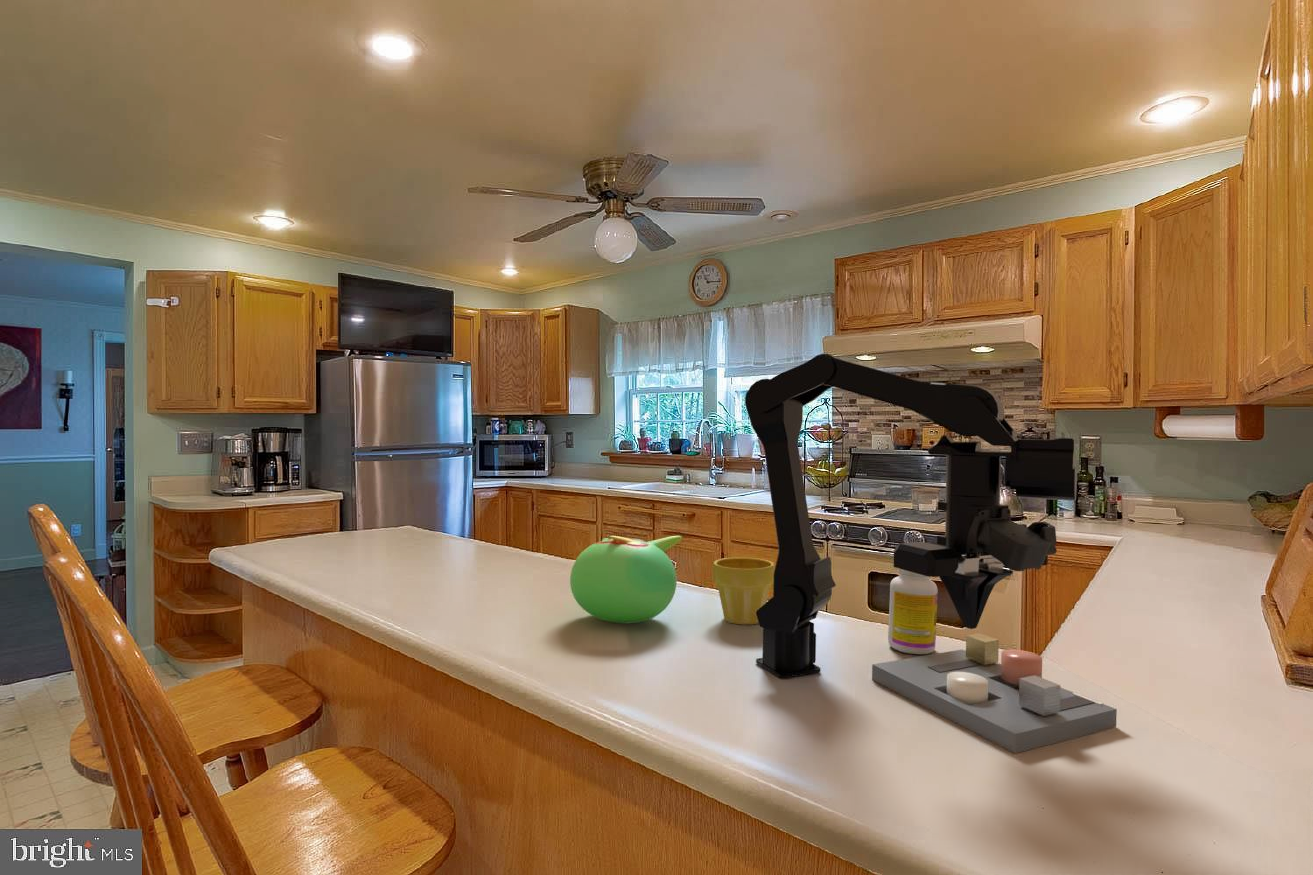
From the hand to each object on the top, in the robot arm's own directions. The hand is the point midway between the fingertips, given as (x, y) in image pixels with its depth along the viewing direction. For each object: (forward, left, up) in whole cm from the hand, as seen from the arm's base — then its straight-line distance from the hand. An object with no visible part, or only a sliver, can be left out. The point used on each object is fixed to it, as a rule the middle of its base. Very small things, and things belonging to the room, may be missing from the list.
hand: (970, 627), depth 77 cm
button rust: (+9, 0, -7) cm, 12 cm away
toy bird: (-25, +48, -10) cm, 55 cm away
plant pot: (-6, +41, -10) cm, 43 cm away
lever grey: (+3, -6, -7) cm, 10 cm away
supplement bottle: (+10, +19, -10) cm, 24 cm away
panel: (+4, +1, -10) cm, 11 cm away
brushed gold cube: (+10, +7, -7) cm, 15 cm away
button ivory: (0, 0, -9) cm, 9 cm away
